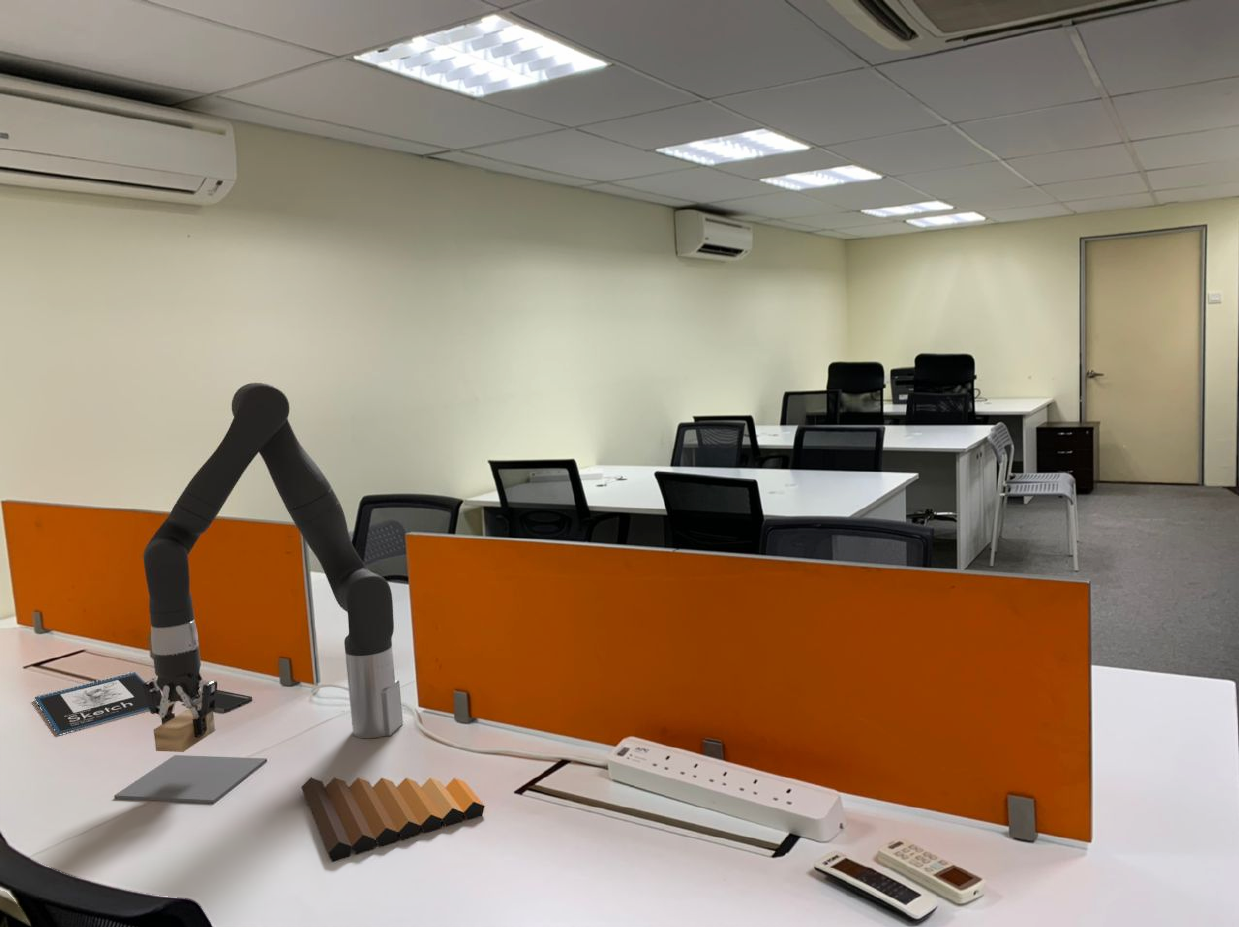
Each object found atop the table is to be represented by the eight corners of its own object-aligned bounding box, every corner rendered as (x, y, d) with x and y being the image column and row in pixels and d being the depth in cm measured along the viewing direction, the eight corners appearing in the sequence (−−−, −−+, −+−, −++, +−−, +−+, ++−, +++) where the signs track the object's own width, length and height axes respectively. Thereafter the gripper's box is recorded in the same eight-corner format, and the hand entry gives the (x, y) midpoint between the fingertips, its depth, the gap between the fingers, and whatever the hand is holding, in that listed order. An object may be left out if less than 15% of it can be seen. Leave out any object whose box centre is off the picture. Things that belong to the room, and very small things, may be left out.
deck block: (183, 752, 158) (180, 730, 157) (155, 750, 159) (153, 729, 158) (215, 730, 166) (212, 710, 166) (189, 729, 167) (186, 709, 167)
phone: (211, 688, 209) (254, 697, 202) (211, 693, 210) (254, 701, 202) (181, 700, 203) (224, 709, 195) (181, 705, 203) (225, 714, 196)
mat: (267, 761, 170) (266, 758, 170) (214, 803, 154) (213, 800, 154) (175, 757, 174) (174, 754, 174) (114, 798, 158) (114, 795, 158)
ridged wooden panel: (302, 798, 156) (329, 866, 134) (300, 779, 155) (327, 845, 133) (440, 760, 167) (485, 817, 145) (438, 743, 167) (484, 798, 145)
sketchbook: (58, 739, 188) (57, 730, 188) (34, 702, 210) (33, 694, 210) (167, 707, 202) (166, 699, 202) (134, 676, 225) (133, 669, 224)
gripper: (125, 652, 158) (136, 743, 160) (197, 653, 155) (207, 745, 157) (155, 639, 165) (165, 725, 167) (224, 640, 163) (233, 728, 165)
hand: (185, 735), depth 162 cm, fingers closed on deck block, 5 cm apart
